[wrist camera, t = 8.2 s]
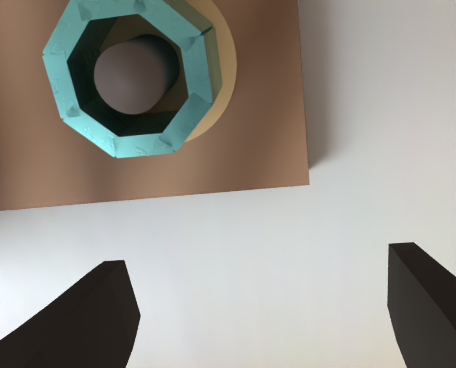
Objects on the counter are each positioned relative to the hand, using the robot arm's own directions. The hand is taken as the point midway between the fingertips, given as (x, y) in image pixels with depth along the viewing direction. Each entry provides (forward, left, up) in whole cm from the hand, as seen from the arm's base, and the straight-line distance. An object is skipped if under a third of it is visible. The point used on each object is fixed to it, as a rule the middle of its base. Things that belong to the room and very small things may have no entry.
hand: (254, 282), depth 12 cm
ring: (-4, +5, -8) cm, 10 cm away
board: (-7, +5, -9) cm, 13 cm away
